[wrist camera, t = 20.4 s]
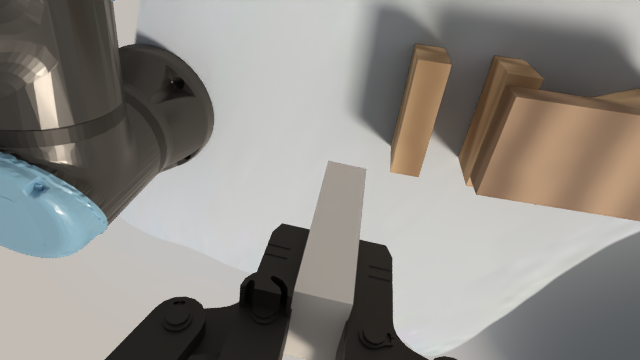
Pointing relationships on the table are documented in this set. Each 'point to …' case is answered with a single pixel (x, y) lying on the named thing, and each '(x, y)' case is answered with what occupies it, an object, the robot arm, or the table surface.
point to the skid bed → (425, 100)
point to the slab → (562, 153)
